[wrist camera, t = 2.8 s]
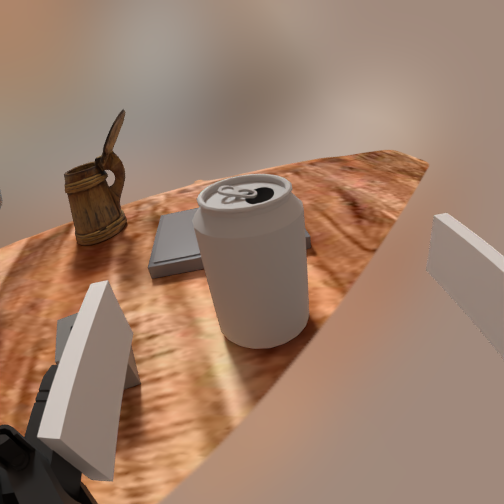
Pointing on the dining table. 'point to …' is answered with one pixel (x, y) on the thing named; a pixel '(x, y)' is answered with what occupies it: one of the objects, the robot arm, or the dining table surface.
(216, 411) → the dining table surface
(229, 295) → the can
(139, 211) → the dining table surface
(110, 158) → the wooden mug
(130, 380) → the dice cube
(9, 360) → the dining table surface
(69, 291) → the dining table surface
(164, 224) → the slate board
